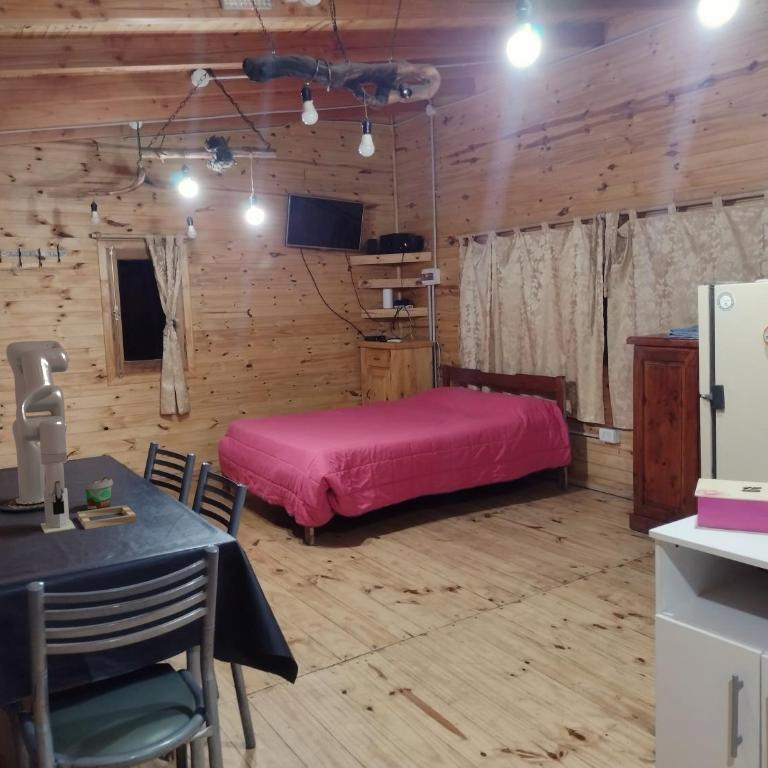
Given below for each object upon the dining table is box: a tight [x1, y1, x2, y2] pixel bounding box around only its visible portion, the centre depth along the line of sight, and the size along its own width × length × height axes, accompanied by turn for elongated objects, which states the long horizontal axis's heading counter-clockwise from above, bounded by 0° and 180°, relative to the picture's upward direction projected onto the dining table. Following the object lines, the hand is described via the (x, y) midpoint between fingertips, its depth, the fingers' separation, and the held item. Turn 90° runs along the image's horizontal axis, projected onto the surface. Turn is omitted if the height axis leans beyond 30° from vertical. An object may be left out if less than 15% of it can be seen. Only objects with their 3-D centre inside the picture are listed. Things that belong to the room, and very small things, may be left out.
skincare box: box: [43, 487, 70, 527], centre depth 232 cm, size 6×4×12 cm
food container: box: [83, 475, 114, 511], centre depth 255 cm, size 12×6×10 cm, turn 168°
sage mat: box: [40, 519, 76, 534], centre depth 233 cm, size 11×9×1 cm
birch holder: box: [76, 504, 138, 530], centre depth 240 cm, size 16×16×2 cm
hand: (56, 510), depth 232 cm, fingers open, 9 cm apart
